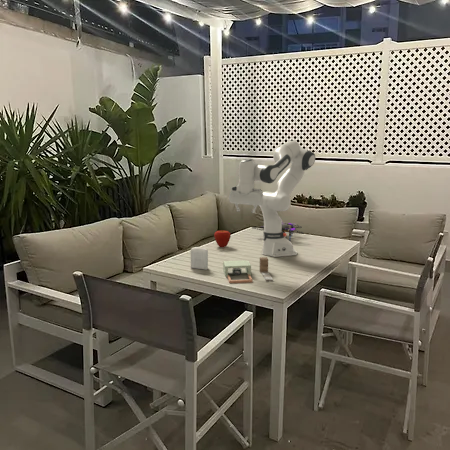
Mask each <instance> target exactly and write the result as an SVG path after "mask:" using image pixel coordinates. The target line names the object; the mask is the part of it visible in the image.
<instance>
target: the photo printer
mask: <svg viewBox="0 0 450 450" xmlns="http://www.w3.org/2000/svg"><path fill="white" fill-rule="evenodd" d="M190 268H191V269H198V270H208V269H209V250H208V249H206V248H205V247H200V246H195V247H191V248H190Z"/></svg>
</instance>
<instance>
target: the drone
mask: <svg viewBox="0 0 450 450" xmlns="http://www.w3.org/2000/svg"><path fill="white" fill-rule="evenodd" d="M302 227H303V226H302V225H299V224H297V223H291V222H282V232H284V233H287V234H289V235H288V236H289V238H288V240H289V241H290V242H291V238H292V237H293V235H298V234H299V235H300V234H301V235H304V234H305V232H303V231H299V230H298V229H302ZM252 230H256V231H260V232H261V231H262V232H263V231H264V225H263V226H262V225H261V226H260V227H256V226H252Z"/></svg>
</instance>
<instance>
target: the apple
mask: <svg viewBox="0 0 450 450" xmlns="http://www.w3.org/2000/svg"><path fill="white" fill-rule="evenodd" d="M231 234H232V233H230V232H229V230H223V229H221V230H217V231H215V232H214V239H215V243H216V245H217V246H218V247H219V248H225V247H227V246H228V244H229V242H230V239H231Z"/></svg>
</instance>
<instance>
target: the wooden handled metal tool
mask: <svg viewBox="0 0 450 450" xmlns="http://www.w3.org/2000/svg"><path fill="white" fill-rule="evenodd" d="M259 272H260V274H261V275H262V277H263V279H264V281H265V282H266V283H267V282H269V281H271V282H274V279H273V277H272V276H271V274H270V273H269V258H268V257H267V256H263V257H262V256H261V257H259Z"/></svg>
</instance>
